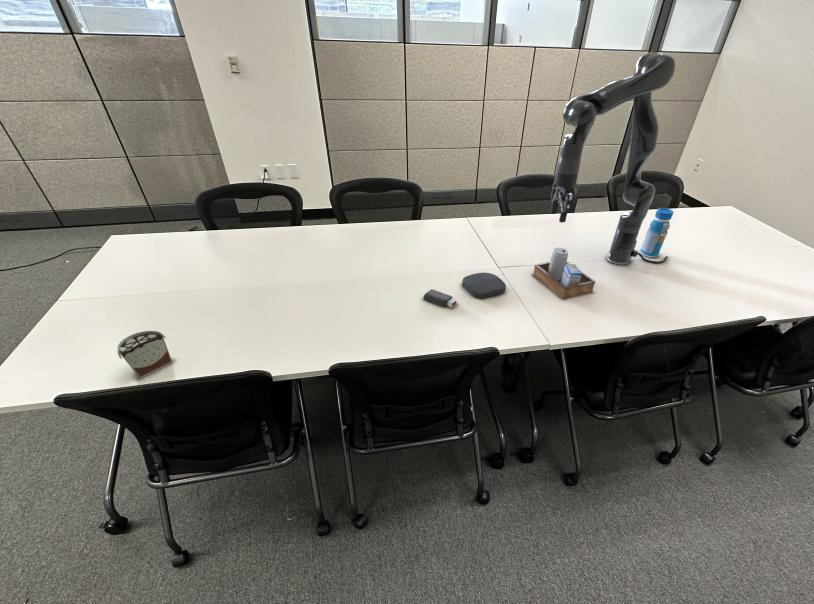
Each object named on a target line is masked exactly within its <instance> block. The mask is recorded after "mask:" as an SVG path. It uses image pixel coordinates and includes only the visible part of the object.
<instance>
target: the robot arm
mask: <svg viewBox="0 0 814 604" xmlns="http://www.w3.org/2000/svg"><path fill="white" fill-rule="evenodd" d="M675 71H676V60H675V58H674V57H673V56H671V55H669V54H665V53H656V52H646V53H644V54H643V55H641V56H640V57H639V60H637V63H636V65H635V69H634V73H633V76H630V77H626V78H622V79H618V80H615V81H613V82H610V83H608V84H606V85H604V86H602V87H601V88H599V89H597V90H596V91H593V92H590V93H585V94H583V95H582V94H581V95H580V96H577V97H574V98H572V99H571V100H569V102H568V103H566V105H565V107H564V108H563V112H562V118H563V121H564V123H566V124H567V125H568V126H572V127H575V128H574V130H573V132H572V133H570V134H566V135H565V136H564V137H563V140H562V142H561V143H562V144H561V148H560V153H559V157H558V160H557V165H556V171H555V175H554V179H553V180H554V181H553V183H552V188H551V191H550V196H549V199H550V200H551V209H550V214H551V215H556V214H557V213H558V209H559V206H560V210H561V211H560V214H559V219H558V222H559V223H566V221H567V216H568V213H571V212H572V211H573V206H574V201H575V193H572V188H575V186H576V185H577V180H578V176H579V172H580V168H581V163H582V162H581V160H582V156H583V150H584V146H585V143H586V141H587V139H588V136H589V133H590V132H591V130H592V128H593V126H594V124H595V121H596V118H597V117H598V116H602V115H604V114H606V113H608V112H609V111H611V110H613V109H616V107H618V106H620V105H622V104H625V103H626V102H629V101H631V100H633V106H632V107H633V109H632V123H631V130H630V131H631V132H630V140H629V153H628V161H627V169H626V175H625V180H624V184H623V191H622V199H623V201H624V202H625V203H626V204H629V205H631V206H633V208H632V210H631V211H624V212H622V213H621V214H620V216H619V220H618V223H617V226H616V229H615V233H614V235H613V238H612V242H611V245H610V248H609V250H608V251H607V257H606V260H607V261H608V262H610V263H612V264H615V265H620V266H623V265H627V264H629V263H630V262H631V259H632V258H637V257H638V256H639V257H640V258H641V260H642V261H643V262H646V263H650V264H662V263H665V262H666V261H667V259H668V258H669V256H668V255H666V256H665V257H664V258H663V260H658V261H657V260H651V259H650V260H649V259H647V258H644V255H642V254H641V253H640V252H639V251H638V250H636V249H635V248H636V245H637V243H638V241H637V238H638V235H639V232H640V230H641V227H642V224H643V222H644V220H645V218H646V216H647V214H648V213H649V209H650V207H651V206H652V205H651V204H652V203H653V201H654V197H655V194H656V187H655V185H654V184H652V183H650V182H647V181H645V180H642V171H643V167H644V166H645V164H646V162H647V161H648V160H649V159H650V158H651V157H652V155H653V153H654V152H655V150H656V148H657V145H658V138H659V132H660V125H659V120H658V116H657V114H656V111H655V108H654V105H653V99H652V97H653V95H652V94H653V92H656V91H659V90H662V89H663V88H665V87H666V86H667V85H669V83H670V82H671V81H672V79H673V77H674V74H675Z"/></svg>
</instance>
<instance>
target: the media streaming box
mask: <svg viewBox="0 0 814 604" xmlns="http://www.w3.org/2000/svg"><path fill="white" fill-rule="evenodd" d="M461 286H462V287H463V288H464V289H465V290H466V291H467V292H468V293H469V294H470V295H472V296H473V297H475V298H477V299H478V298H479V299H485V298H490V297H494V296H498V295H502V294H504V293H505V292H506V288H507V285H506V283H505V281H503V279H501V278H500V277H499V276H497V275H496V274H494V273H490V272H477V273H476V272H475V273H472V274H469V275H466V276H464V277H463V278H462V282H461Z"/></svg>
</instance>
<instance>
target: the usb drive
mask: <svg viewBox="0 0 814 604" xmlns="http://www.w3.org/2000/svg"><path fill="white" fill-rule="evenodd" d="M423 300H425V301H426V302H429V303H432V304H434V305H437V306H440V307H443V308H447V307H448V308H453V307H455V306H456V305H457V302H458V300H457V299H456V298H453V296H452V295H450V294H447V293H444V292H441V291H439V290H436V289H432V288H431V289H430V290H428V291H427V292H425V293H424V295H423Z"/></svg>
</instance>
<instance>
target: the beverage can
mask: <svg viewBox="0 0 814 604" xmlns="http://www.w3.org/2000/svg"><path fill="white" fill-rule="evenodd" d="M568 257H569V250H568V249H566V248H564V247H555V248H553V251H551V256H550V260H549V262H550V265H549V270H548V274H550V275H551V276H552V277H554V278H555V279H556V280H557V281H561V279H562V275H563V271H564V267H565V264H566V262H568Z"/></svg>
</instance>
